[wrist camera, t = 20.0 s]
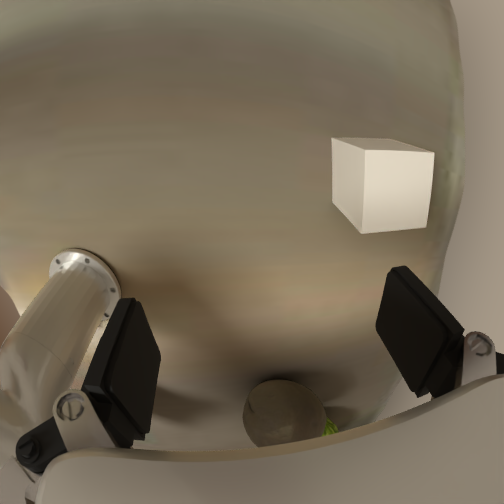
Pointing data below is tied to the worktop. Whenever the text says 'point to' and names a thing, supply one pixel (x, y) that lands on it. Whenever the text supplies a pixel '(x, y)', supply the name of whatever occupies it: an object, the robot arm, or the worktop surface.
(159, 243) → the worktop surface
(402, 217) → the white sugar cube
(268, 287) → the worktop surface
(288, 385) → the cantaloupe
